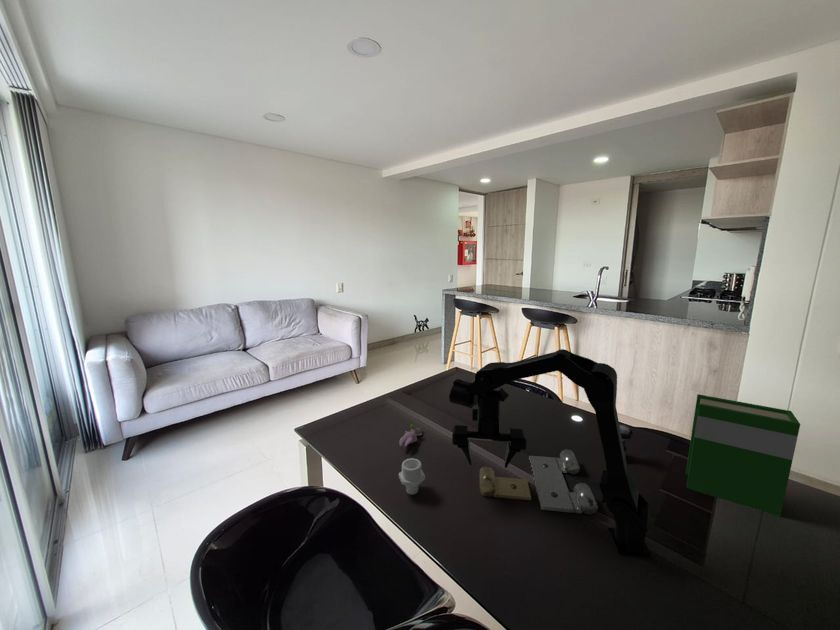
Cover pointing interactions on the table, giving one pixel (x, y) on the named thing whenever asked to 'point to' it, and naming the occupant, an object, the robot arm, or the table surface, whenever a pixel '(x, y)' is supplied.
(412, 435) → the purple flower
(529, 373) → the robot arm
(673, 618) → the table surface
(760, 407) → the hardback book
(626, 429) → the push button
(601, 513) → the table surface
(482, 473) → the brass hinge leaf
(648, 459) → the table surface
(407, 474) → the pipe fitting
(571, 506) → the steel hinge leaf
